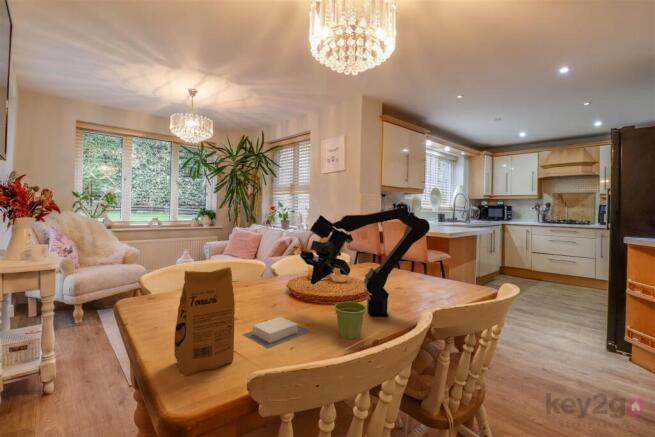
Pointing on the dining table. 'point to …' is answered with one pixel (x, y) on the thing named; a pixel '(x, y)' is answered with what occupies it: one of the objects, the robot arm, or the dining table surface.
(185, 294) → the coffee package
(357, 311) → the plant pot
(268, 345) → the mat
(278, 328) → the white flat block
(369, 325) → the dining table surface
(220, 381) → the dining table surface
